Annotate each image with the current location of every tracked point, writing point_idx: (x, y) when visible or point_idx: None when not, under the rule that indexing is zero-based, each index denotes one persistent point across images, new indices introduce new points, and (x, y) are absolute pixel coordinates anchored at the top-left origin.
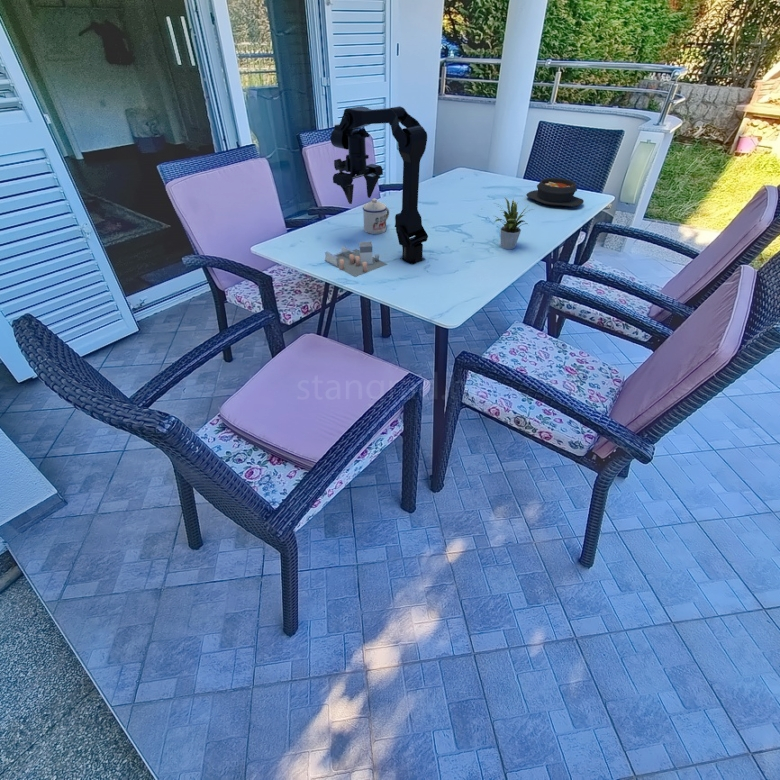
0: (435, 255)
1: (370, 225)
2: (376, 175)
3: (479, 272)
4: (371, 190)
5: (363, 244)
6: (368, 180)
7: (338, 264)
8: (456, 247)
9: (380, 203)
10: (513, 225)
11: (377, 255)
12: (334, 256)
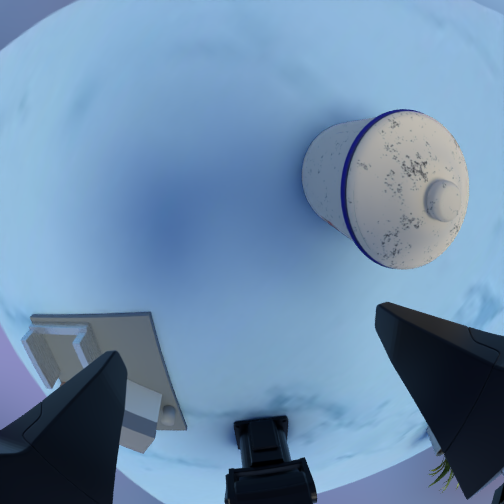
0: (327, 428)
1: (320, 209)
2: (499, 493)
3: (319, 478)
4: (410, 391)
5: (121, 437)
6: (493, 411)
7: (58, 375)
8: (393, 410)
9: (448, 228)
10: (445, 461)
11: (168, 423)
12: (42, 378)
